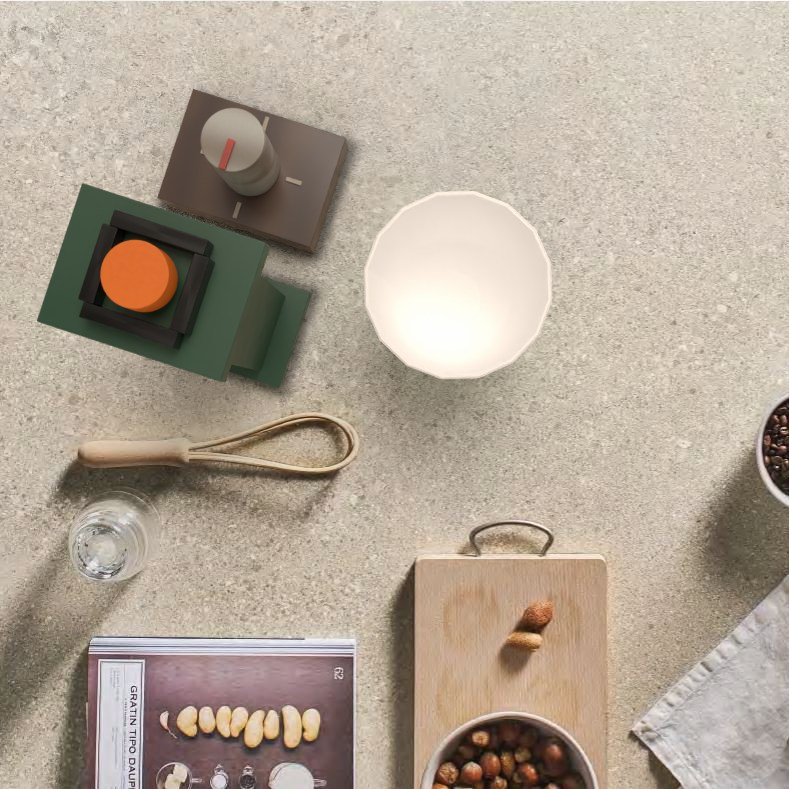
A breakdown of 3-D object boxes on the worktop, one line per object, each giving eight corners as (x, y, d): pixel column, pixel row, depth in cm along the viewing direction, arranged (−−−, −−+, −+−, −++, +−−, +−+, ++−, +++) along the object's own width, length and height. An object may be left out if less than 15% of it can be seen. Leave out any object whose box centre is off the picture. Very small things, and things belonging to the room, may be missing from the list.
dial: (233, 131, 76) (211, 97, 68) (287, 149, 76) (272, 118, 68) (214, 185, 76) (190, 158, 68) (268, 204, 76) (251, 179, 68)
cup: (511, 397, 78) (536, 395, 63) (359, 371, 79) (347, 363, 63) (536, 245, 78) (568, 205, 63) (385, 220, 79) (379, 174, 63)
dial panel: (166, 205, 79) (156, 197, 76) (201, 100, 79) (192, 87, 76) (313, 253, 79) (309, 247, 76) (348, 147, 79) (345, 137, 76)
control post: (154, 347, 79) (25, 318, 53) (185, 252, 79) (72, 176, 53) (280, 389, 79) (215, 381, 52) (312, 293, 79) (262, 237, 52)
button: (103, 300, 53) (90, 296, 51) (123, 237, 53) (112, 230, 51) (165, 321, 53) (156, 317, 51) (186, 257, 53) (178, 252, 51)
